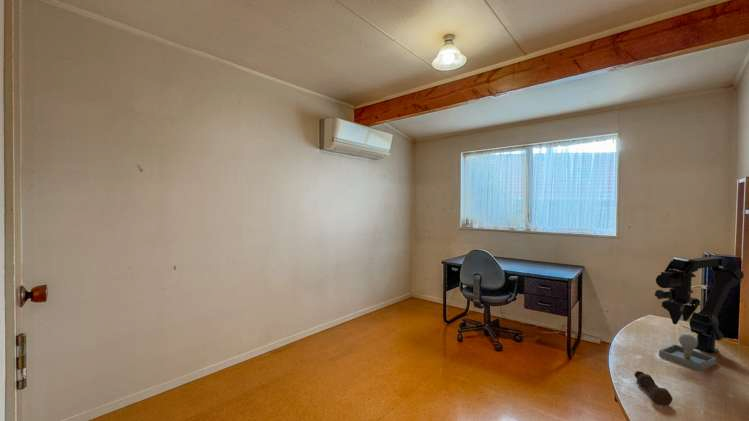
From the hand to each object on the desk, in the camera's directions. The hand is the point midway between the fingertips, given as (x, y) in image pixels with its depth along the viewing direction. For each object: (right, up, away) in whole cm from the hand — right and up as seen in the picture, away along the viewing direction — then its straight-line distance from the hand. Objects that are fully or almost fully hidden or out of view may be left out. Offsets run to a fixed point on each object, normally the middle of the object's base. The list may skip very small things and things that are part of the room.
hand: (679, 322), depth 139 cm
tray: (-3, -13, -6) cm, 15 cm away
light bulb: (-3, -13, -6) cm, 15 cm away
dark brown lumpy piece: (-37, -15, -28) cm, 49 cm away
